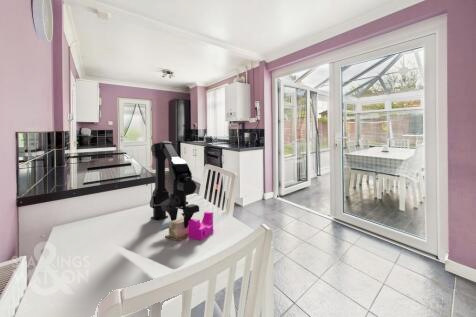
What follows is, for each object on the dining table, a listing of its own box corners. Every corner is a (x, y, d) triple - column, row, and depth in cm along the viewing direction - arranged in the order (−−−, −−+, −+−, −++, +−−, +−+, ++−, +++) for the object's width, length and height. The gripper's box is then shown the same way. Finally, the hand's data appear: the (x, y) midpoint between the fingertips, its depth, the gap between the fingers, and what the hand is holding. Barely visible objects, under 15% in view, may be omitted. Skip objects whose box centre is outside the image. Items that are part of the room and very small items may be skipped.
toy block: (201, 240, 87) (201, 222, 87) (188, 238, 89) (188, 220, 89) (217, 228, 101) (217, 212, 101) (206, 226, 103) (206, 211, 103)
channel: (161, 228, 101) (161, 223, 101) (177, 223, 110) (177, 218, 110) (175, 232, 96) (175, 227, 96) (191, 226, 104) (191, 221, 104)
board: (165, 237, 91) (165, 235, 91) (182, 230, 99) (182, 228, 99) (177, 241, 86) (177, 239, 86) (195, 233, 94) (195, 232, 94)
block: (169, 235, 91) (168, 221, 90) (181, 230, 96) (181, 217, 96) (176, 238, 88) (176, 223, 88) (189, 232, 94) (189, 219, 94)
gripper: (150, 191, 91) (150, 227, 91) (179, 196, 81) (180, 236, 81) (171, 188, 100) (171, 220, 101) (200, 191, 90) (200, 228, 90)
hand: (179, 226), depth 93 cm, fingers open, 7 cm apart
